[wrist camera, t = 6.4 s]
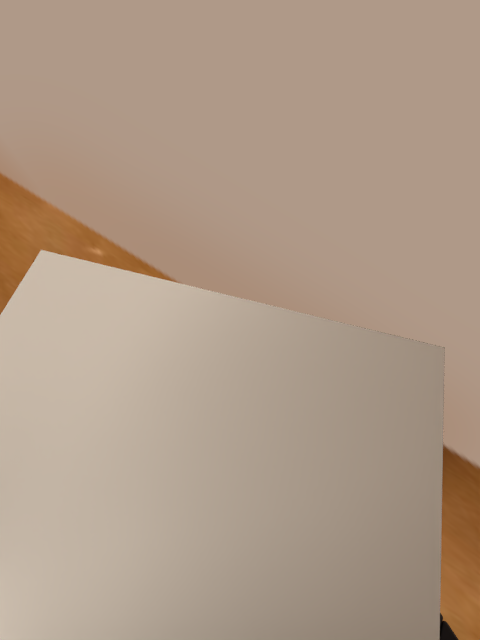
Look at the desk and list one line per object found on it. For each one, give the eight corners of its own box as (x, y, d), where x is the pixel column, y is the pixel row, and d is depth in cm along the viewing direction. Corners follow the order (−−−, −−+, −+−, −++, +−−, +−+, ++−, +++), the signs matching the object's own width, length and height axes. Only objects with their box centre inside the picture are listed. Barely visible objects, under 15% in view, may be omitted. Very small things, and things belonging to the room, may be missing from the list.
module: (262, 586, 12) (439, 1476, 1) (136, 544, 13) (-421, 972, 2) (291, 435, 15) (449, 344, 4) (183, 405, 15) (39, 246, 4)
